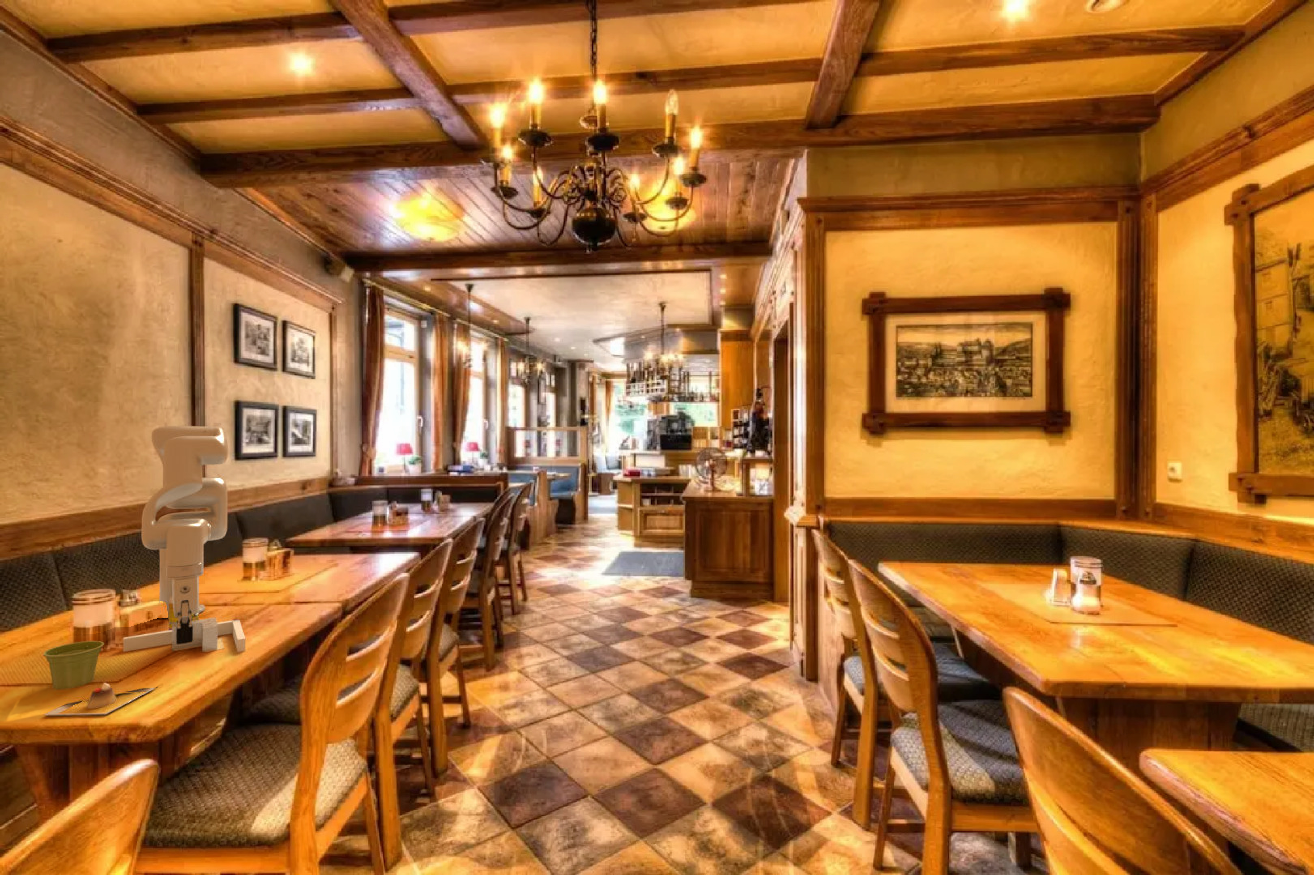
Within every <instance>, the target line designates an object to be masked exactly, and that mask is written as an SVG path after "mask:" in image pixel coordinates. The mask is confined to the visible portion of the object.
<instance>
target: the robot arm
mask: <svg viewBox="0 0 1314 875" xmlns="http://www.w3.org/2000/svg"><path fill="white" fill-rule="evenodd" d="M151 443H152V446H153V449H154V450H155V452H156V454H157V455H158V456H157V457H158V458H159V459H160V462H161V464H162V488H160V489H159V490H158V491H157V492H154V494H153V495H152V496H151V497H150V498H149V499H148V501H147V502H146V503H145V505H144V508H143V510H142V514H141V541H142V545H143V546H144V547H145V548H147V549H148V550H159V602H160V601H163V602H165V603H166V605H167V611H168V619H167V620H169V600H170V598H171V597H172V599H173V609H174V616H175V617H176V618H177V616H178V621H177V623H178V628H177V635H176V644H184V643H190V642H192V641H193V626H192V614H195V615H198V614H199V615H200V614H201V613H202V612H204V611H205V610H206V607H205V605H204V604H202V603H201V604H200V577H201V576H203V575H204V553H205V552H204V545H205V544H206V543H207V542H208V541H209V542H210V541H216V540H221V539H223V538H225V536H226V534H227V531H228V503H229V502H228V497H229V496H228V487H227V483H226V481H224V480H223V479H222V478H219V477H203V466H206V465H207V466H208V465H223V464H224V463H225V462H226V461H227V459H228V457H229V456H228V455H229V445H228V441H227V436H226V432H225V431H224V429H222V428H221V427H219V426H201V425H199V426H197V425H196V426H195V425H194V426H193V425H165V426H164V425H163V426H160V427H157V428H154V429H153V430H152V432H151ZM163 507H166V508H169V509H173V510H174V509H175V510H186V509H203V508H207V509H209V510H205V511H203V510H202V511H185V512H184V511H183V512H181V511H180V512H172V513H167V514H165V515H163V516H160V518H158V520H156V517H157V513H158V512H159V511H160V510H161V509H162V508H163ZM188 613H189V614H188ZM180 614H181V616H180ZM180 619H181V620H180ZM180 624H181V626H180ZM180 627H181V628H180Z"/></svg>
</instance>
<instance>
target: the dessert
mask: <svg viewBox="0 0 1314 875" xmlns="http://www.w3.org/2000/svg"><path fill="white" fill-rule="evenodd" d="M100 685H101V684H99V686H98V687H97V688H95V689H94V690H93V691H92V692H91V694H90V697H89V700H88V702H87V705H86V708H87V709H99V708H103V706H104V707H107V705H108V706H110V705H113V704H114V703H116V702H117V701H116V700H118V699H117V698H116V694H115V691H114V690H113V688H112V687H111V686H110V684H109V683H107V682H103V684H102V685H101V687H100ZM155 689H156V688H155V687H143V688H138V689H133V690H127V691H126V692H145V693H140V694H139V695H138V696H136V697H133V698H132V699H130V700H128V701H126V702H124V703H123V704H120V705H118V706H116V707H115V708H113V709H111V710H108V711H107V712H95V713H93V712H89V713H88V712H87V713H85V712H84V713H82V712H81V713H80V712H79V713H62V712H64V711H65V709H66V710H68V709H71V708H72V707H74V706H73V705H75V704H77V705H79V704H81V703H83V702H84V701H83V700H84V699H83V700H79V701H73V702H69V703H65V704H63V705H60V706H59V707H57V708H54V709H52V710H50V711H47V712H46V713H44V714H43V716H49V717H60V716H61V717H64V716H66V717H67V716H69V717H71V716H73V715H77V716H106V715H109V714H111V713H112V712H114V711H116V710H118V709H120V708H122V707H123V705H124V706H125V704H126V705H127V704H129V703H131V702H133V701H135V700H137V699H139V698H140V696H141V697H142V695H143V696H145V695H146V694H149V692H152V691H154V690H155ZM138 697H139V698H138ZM136 698H137V699H136ZM82 701H83V702H82ZM115 701H116V702H115ZM112 703H113V704H112ZM109 704H110V705H109ZM75 706H76V705H75ZM73 717H74V716H73Z"/></svg>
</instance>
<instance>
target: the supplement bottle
mask: <svg viewBox="0 0 1314 875" xmlns="http://www.w3.org/2000/svg"><path fill="white" fill-rule="evenodd" d="M188 614H189V613H188ZM180 616H181V614H180ZM199 616H200V613H199V614H198V615H195V614H192V621H196V620H200V617H199ZM180 620H181V619H180ZM177 621H178V616H177V618H176V617H175V616H174V609H173V599H172V597H171V598H170V600H169V619H168V630H172V624H177Z"/></svg>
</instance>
